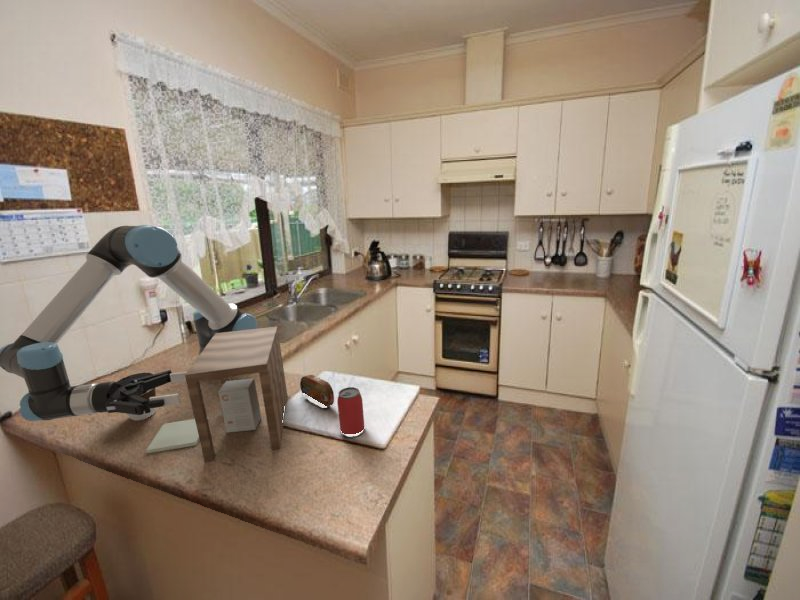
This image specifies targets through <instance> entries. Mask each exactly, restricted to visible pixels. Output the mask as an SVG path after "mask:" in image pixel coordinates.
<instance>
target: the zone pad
mask: <svg viewBox="0 0 800 600" xmlns="http://www.w3.org/2000/svg"><path fill="white" fill-rule="evenodd" d="M207 419H208V422H209V420H210V417H209V416H207ZM199 443H200V439H199V435H198V430H197V426H196V422H195V418H192V419H186V420H181V421H180V420H179V421H178V420H177V421H173V422H167V423H163V424H162V426H161V427H160V429H159V431H158V432H157V433H156V435H155V436H154V437H153V439H152V441H151V442H150V444H149V445H148V447H146V454H150V453H151V454H152V453H153V454H154V453H157V452H165V451H169V450H176V449H181V448H187V447H193V446H194V447H195V446H197V445H198V444H199Z"/></svg>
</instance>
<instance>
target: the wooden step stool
mask: <svg viewBox="0 0 800 600" xmlns="http://www.w3.org/2000/svg"><path fill="white" fill-rule="evenodd" d="M198 355H199V354H198ZM283 363H284V362H283V357H282V349H281V343H280V336H279V329H278V326H269V327H262V328H261V327H259V328H257V329H250V330H241V331H233V332H224V333H215V335H214V336H213V337H212V339H211V340H210V341H209V343H208V344H207V346H206V347H205V348H204V350H203V351H202V352H201V354H200V355H199V356H197V357H196V359H195V360H194V361H193V363H192V365H191V366H190V367H189V369H188V370H186V372H187V373H186V374H185V378H186V386H187V390H188V394H189V399H190V403H191V408H192V413H193V417H194V419H195V422H196V426H197V430H198V435H199V439H200V440H199V443H200V448H201V452H202V456H203V460H204V463H208V462H213V461H214V460H215V458H216V453H215V452H216V451H215V447H214V442H213V439H212V434H211V430H210V429H211V428H210V425H209V421H208V419H207V417H208V416H207V415H208V414H207V409H206V407H205V406H206V405H205V403H204V397H203V393H202V392H203V391H202V386H201V383H200V382H201V381H202V382H203V381H208V380H215V379H222V386H223V385H224V383H225V382H226V381H233V379H232V377H237V376H244V375H251V374H258V375H259V381H260V387H261V393H262V399H263V400H262V401H263V405H264V410H265V418H266V424H267V430H268V435H269V441H270V447H271V451H275V450H280V449H281V444H282V437H283V428H284V423H282V420H283V413H284V406H285V404H286V405H287V398H288V391H287V390H288V389H287V384H286V383H287V382H286V377H285V370H284V364H283Z"/></svg>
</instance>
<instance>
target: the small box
mask: <svg viewBox="0 0 800 600" xmlns="http://www.w3.org/2000/svg"><path fill="white" fill-rule="evenodd" d="M217 393H218V398H219V401H220V408H221V411H222V417H223V422H224V427H225V430H226V433H227V434H229V433H237V432H246V431H255V430H257V428H258V425H259V423H260V421H261V418H262V413H261V408H260V402H259V396H258V391H257V386H256V382H255V378H245V379H238V380H237V379H235V380H233V379H232V381H226V382H225V383H224V385H223V384H222V386H221V387H220V388H219V390H218V391H217Z"/></svg>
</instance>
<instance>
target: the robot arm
mask: <svg viewBox="0 0 800 600" xmlns="http://www.w3.org/2000/svg"><path fill="white" fill-rule="evenodd" d="M182 257H183V254H182V251H181V250H180V249H179V248H178V242H177V240H176V238H175V236H174V235H173V234H172V233H170V232H169V231H168V230H167V229H165V228H162V227H160V226H155V225H152V224H151V225H150V224H141V225H120V226H117V227H114V228H112V229H111V230H109V231H108V232H107V233H105V234H104V235H103V236H102V237H101V238H100V239H99V240H98V242H96V243H95V244H94V246H92V247H91V249H90V250H89V251H88V252H87V254H85V259H86V260H85V262H84V264H82V266H80V268H79V269H78V270H77V271H76V272H75V273H74V274H73V276H72V277H71V278H70V279H69V280H68V282H66V283H65V285H64V286H63V287H62V288H61V289H60V290H59V291H58V293H57V294H56V295H55V296H54V297H53V298H52V300H51V301H50V302H49V303H48V304H47V305H46V306H45V307H44V308H43V310H42V311H41V312H40V313H39V314H38V315H37V316H36V317H35V319H34V320H32V322H31V323H30V324H29V325H28V326H27V328H26V329H25V330H24V331H23V332H22V333H21V334H20V335H19V336H18V337H17V338H16V339H15V341H13V342H11V343H8V344H6V345H4V346H1V347H0V368H1V369H2V370H3V371H5V372H6V373H10V374H13V375H16V376H18V377H20V378H22V379H24V382H25V384H26V387H27V390H28V392H26V394H24V395H23V396H22V397H21V399H20V402H19V406H20V408H19V409H18V410H19V414H20V416H21V418H22V419H24V420H26V421H27V422H38V421H40V422H42V421H45V422H46V421H51V420H53V421H54V420H56V419H63V418H68V417H76V416H85V415H87V416H92V415H93V414H98V413H107V414H112V413H114V414H115V413H118V414H120V413H121V414H126V415H128V414H134V415H142V414H144V411H145V413H150V412H151V410H150V408H163V407H164V408H165V407H171V406H177V405H181V404H182V402H181V398H180V393H179V392H178V393H172V394H165V395H163V394H162V395H158V396H157V395H156V397H150V398H149V401H148V400H147V399H145V398H142V397H139V396H140V395H142V394H144V393H146V392H147V391H148V390H150V389H153V388H155V389H156V388H159V387H161V386H163V385H165V384H168V383H170V384H176V383H185V382H186V378H185V374H186V373H187V371H181V372H180V371H179V372H172V370H171V369H167V370H166V371H162V372H157V373H152V374H153V375H150V376H146V377H142V378H137V379H132V380H130V383H131V384H127V385H125V386H121V385H120V384H119V383H117V381H107V382H106V381H104V382H100V383H99V382H98V383H88V384H81V385H75V386H74V385H73V386H71V383H70V380H69V375H68V373H67V369H66V366H65V365H66V364H65V362H64V361H65V360H64V358H63V357H64V356H63V353H62V352H61V349H60V347H59V345H58V343H60V341H61V340H62V339H63V337H64V336H65V335H66V334H67V333H68V331H69V330H70V329H71V328H72V327H73V325H74V324H75V323H76V322H77V321H78V320H79V318H80V317H81V316H82V315H83V314H84V312H85V311H86V310H87V308H88V307H89V306H90V305H91V304H92V303H93V302H94V300H95V299H96V298H97V297H98V295H99V294H100V293H101V292H102V291H103V290H104V288H105V287H106V286H107V285H108V283H109V282H110V281H111V280H112V279H113V278H114V276H119V275H121V274H122V273H123V272H124V271H125V269H126V268H128V267H130V266H132V265H134V266H136V267H137V268H138V269H139V270H141V272H142V273H143V274H145V275H146V276H147V277H149V278H151V279H155V278H156V279H160V280H161V281H162V282H163V283H164V284H165V285H167V287H169V289H171V290H172V291H174V292H175V293H176V294H177V295H178V296H179V297H180V298H182V299H183V300H184V301H185V302H186V303H187V304H188V305H190V306H191V307H192V308H193V309H194V310H195V311H194V312H193V313H192V314H193V315H192V316H193V317H192V318H193V323H194V327H195V331H196V332H195V333H196V335H197V336H196V338H197V341H198V346H199V349H198V356H199V355H200V354H201V352H202V351H203V350H204V348H205V347H206V346H207V344H208V343H209V341H210V340H211V339H212V337H213V336H214V335H215V333H224V332H233V331H241V330H250V329H258V321H257V318H256V316H254V315H252V314H250V313H245V312H243V311H242V309H240V308H239V307H238V306H237V305H236V304H234V303H231V302H230V303H227V301H226V300H225V299H224V298H223V297H221V296H220V295H219V294H218V293H217V292H216V291H215V290H214V289H213V288H212V287H211V286H210V285H209V284H208V283H207V282H205V280H204V279H202V278H201V277H200V276H199V274H197V273H196V272H195V270H193V268H191V267H190V266H189V265H188V264H187V263H186V262H185V261H184V260H183V259H182ZM198 356H197V357H198ZM186 383H187V382H186ZM141 389H142V390H141ZM136 408H137V409H136Z"/></svg>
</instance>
